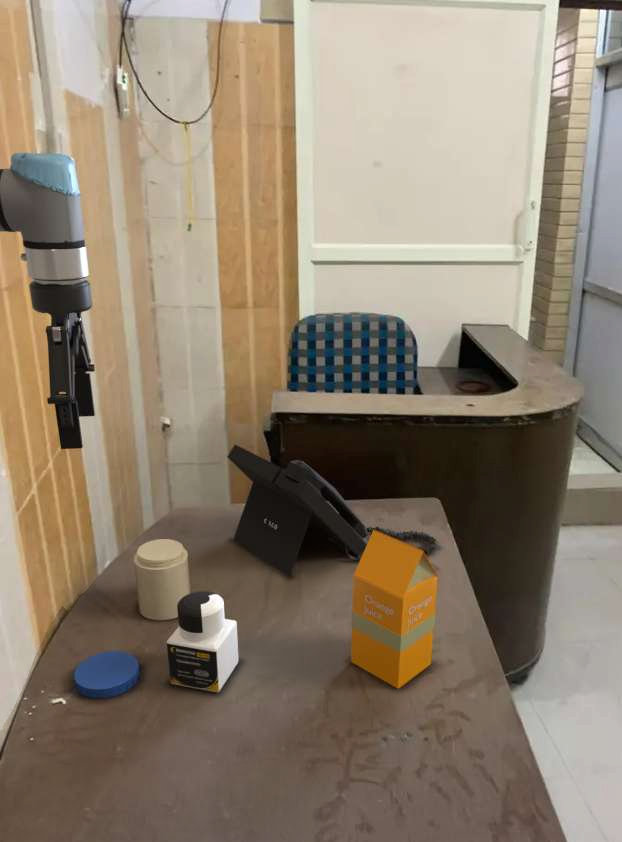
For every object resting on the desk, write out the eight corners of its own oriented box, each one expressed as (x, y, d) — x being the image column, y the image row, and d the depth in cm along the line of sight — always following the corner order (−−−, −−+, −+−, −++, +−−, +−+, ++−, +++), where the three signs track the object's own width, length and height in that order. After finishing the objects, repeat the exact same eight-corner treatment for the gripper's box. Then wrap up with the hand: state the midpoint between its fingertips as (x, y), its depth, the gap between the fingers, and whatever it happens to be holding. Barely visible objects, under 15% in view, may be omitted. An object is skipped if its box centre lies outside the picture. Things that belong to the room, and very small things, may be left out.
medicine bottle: (169, 684, 103) (162, 609, 98) (192, 653, 109) (187, 581, 104) (218, 694, 101) (214, 618, 97) (239, 662, 108) (236, 589, 103)
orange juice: (397, 689, 104) (405, 561, 95) (349, 661, 109) (353, 538, 101) (432, 663, 109) (441, 540, 101) (385, 638, 114) (390, 519, 106)
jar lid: (150, 664, 107) (150, 655, 106) (120, 703, 99) (119, 694, 98) (96, 655, 108) (95, 646, 108) (62, 692, 101) (60, 683, 100)
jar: (137, 622, 116) (130, 564, 112) (140, 594, 123) (134, 539, 119) (191, 617, 117) (186, 560, 113) (191, 590, 125) (187, 535, 120)
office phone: (445, 549, 141) (453, 447, 132) (325, 601, 123) (326, 488, 115) (343, 496, 160) (344, 405, 152) (227, 536, 142) (222, 434, 134)
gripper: (45, 266, 111) (64, 405, 120) (7, 296, 89) (34, 464, 97) (99, 266, 113) (114, 403, 121) (75, 296, 90) (96, 462, 99)
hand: (79, 431), depth 109 cm, fingers open, 13 cm apart
